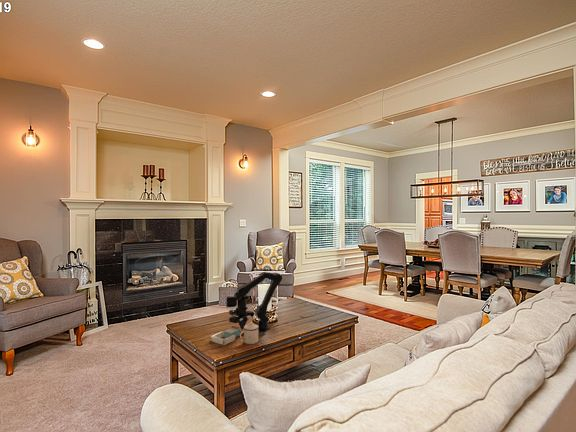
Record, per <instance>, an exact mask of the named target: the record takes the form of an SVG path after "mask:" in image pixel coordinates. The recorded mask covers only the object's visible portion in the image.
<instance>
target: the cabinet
mask: <svg viewBox="0 0 576 432" xmlns="http://www.w3.org/2000/svg"><path fill="white" fill-rule="evenodd" d="M240 333H241V328H240V326H239V327H237V326H233V325H232V326H231V327H230V328H228V329H226V330H223V339H225V338H228V337H230V336H232V335H235V338H237V337H240Z"/></svg>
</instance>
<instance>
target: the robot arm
mask: <svg viewBox="0 0 576 432" xmlns="http://www.w3.org/2000/svg"><path fill="white" fill-rule="evenodd" d="M265 280H269V281H270V283H269V286H268V289H267V290H266V292H265V294H264V297H263V299H262V302H261V304H259V305H258V304H257V306H256V309H254V310H255V312H254V311H251V310H248V308H249V307H247V300H250V297H249V296H248V295H247V294H249V293H250V291H251V290H252V289H254V288H255V287H256V286H257V285H259V284H260V283H262V282H263V281H265ZM282 280H283V277H282V274H280V273H278V272H273V273H272V272H266V271H263V272H262V273H260V274H259V275H257V277H254V279H252V280H250V281H249V282H247V283H244V284H242V285H240V286H238V287H237V289H236V292H235V293H234V295H233V296H226V298H225V308H235V309H229V310H228V311H229V313H228V314H229V315H230V317H229V319H228V321H229V323H232V324H238V325H239V329H240V331H241V330H242V331H244V326H245V325H247V322H248V321H249V318H248V316H249V317H251V318H252V317H254V316H256V317H257V318H258V327H259V328H258V331H262V332H266V331H268V330H270V329H271V328H270V327H269V321H270V317H268V316H267V312H268V306H269V305H270V302H271V300H272V297H273V295H274V294H275V290H276V288H277V287H278V286H279V285H280V284H281V282H282ZM236 306H237V307H236Z"/></svg>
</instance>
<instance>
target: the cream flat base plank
mask: <svg viewBox="0 0 576 432" xmlns="http://www.w3.org/2000/svg"><path fill="white" fill-rule="evenodd" d="M234 341H236V337H235V335H232V336H230V337H228V338H224V331H219V332H217V333H216V334H213V335H211V336H210V342H212V343H215V344H219V345H223V346H226V345H228V344H230V343H232V342H234Z"/></svg>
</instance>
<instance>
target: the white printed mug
mask: <svg viewBox="0 0 576 432" xmlns="http://www.w3.org/2000/svg"><path fill="white" fill-rule="evenodd" d="M258 328H259V324H255V323H254V322H252V321H250V322H249V323H247V324H245V326H244V329H243V330H242V331H240V335H239V338H240V339H241V340H243V342H244V344H247V345H254V344H257V343H258V342H259V330H258ZM242 335H243V337H242Z"/></svg>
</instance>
